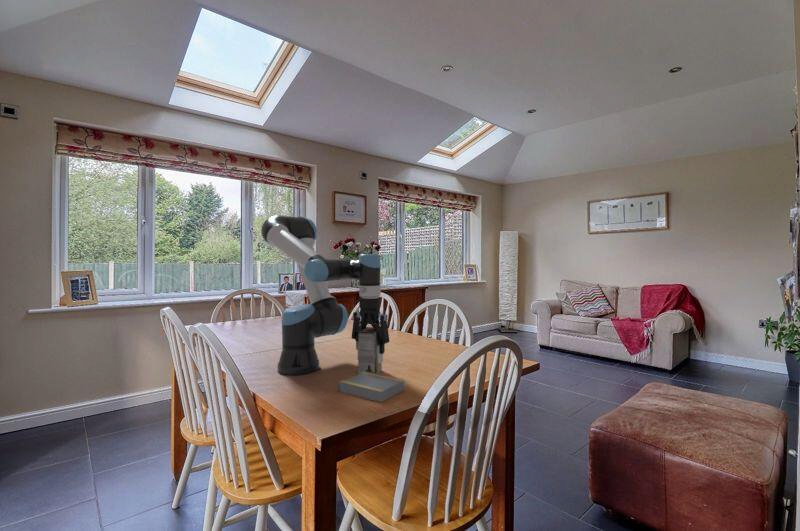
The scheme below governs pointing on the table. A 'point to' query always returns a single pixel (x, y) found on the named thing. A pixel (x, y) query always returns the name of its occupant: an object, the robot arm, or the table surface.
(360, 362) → the coffee box
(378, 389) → the dock
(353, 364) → the table surface
